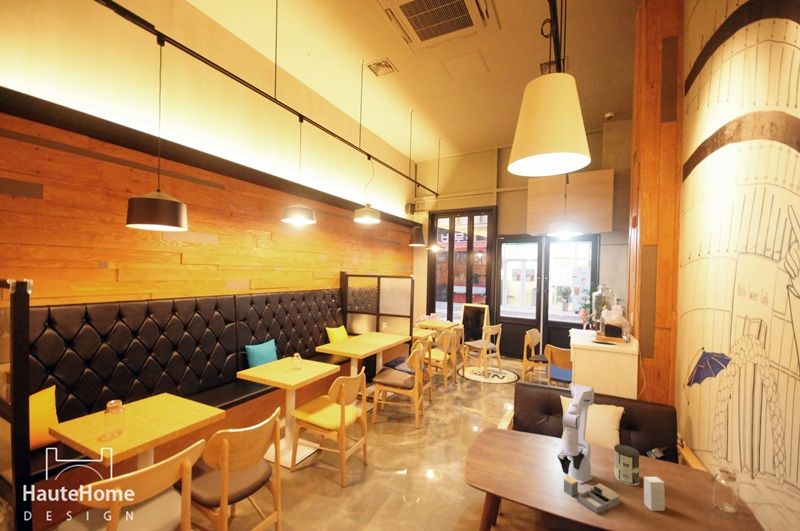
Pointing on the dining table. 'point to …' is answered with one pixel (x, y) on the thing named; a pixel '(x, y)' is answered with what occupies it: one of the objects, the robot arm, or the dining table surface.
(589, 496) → the case
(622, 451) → the coffee can
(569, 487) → the block
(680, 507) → the dining table surface
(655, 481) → the skincare box
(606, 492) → the lid
